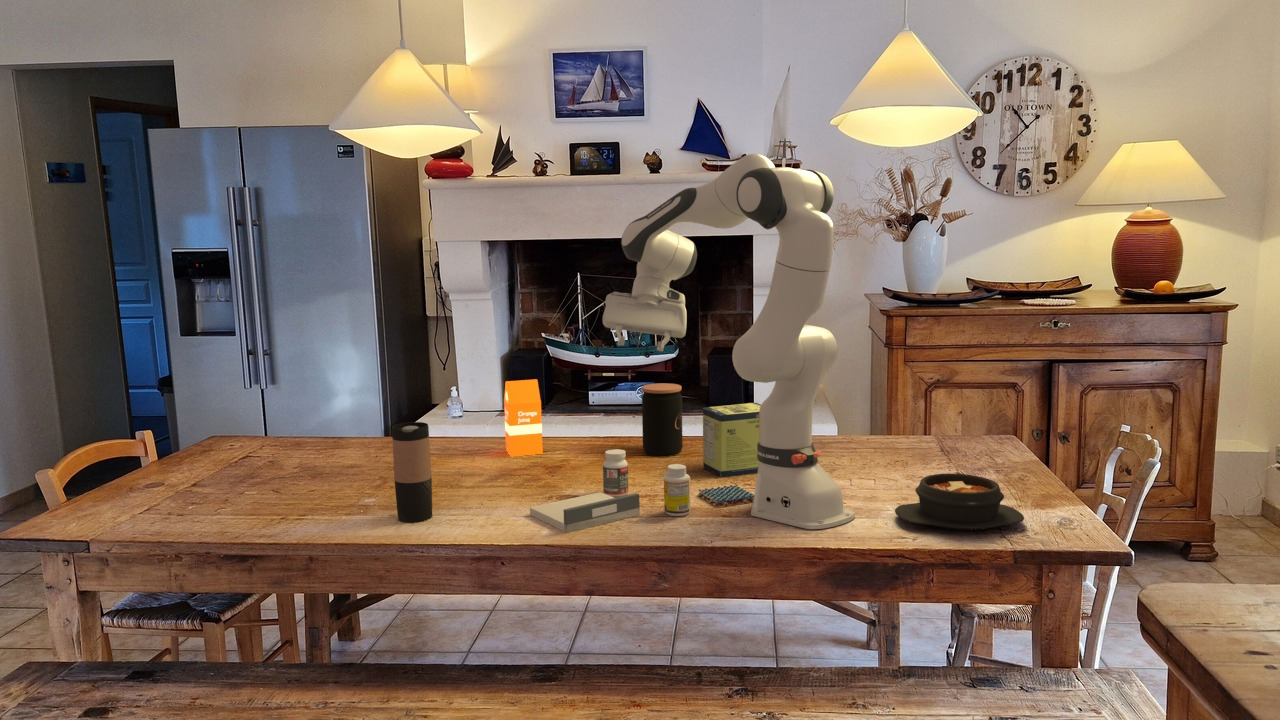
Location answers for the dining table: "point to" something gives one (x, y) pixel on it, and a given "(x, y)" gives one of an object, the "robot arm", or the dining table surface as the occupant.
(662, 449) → the coffee jar
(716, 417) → the protein box
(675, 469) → the supplement bottle
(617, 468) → the pill bottle
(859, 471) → the dining table surface
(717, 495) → the woven mat
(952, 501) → the casserole
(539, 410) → the orange juice
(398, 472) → the travel mug
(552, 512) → the shelf
